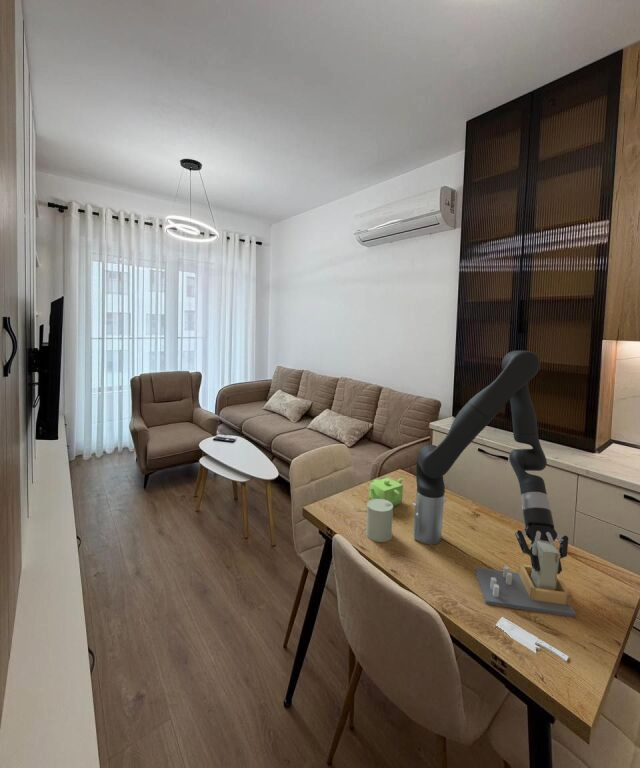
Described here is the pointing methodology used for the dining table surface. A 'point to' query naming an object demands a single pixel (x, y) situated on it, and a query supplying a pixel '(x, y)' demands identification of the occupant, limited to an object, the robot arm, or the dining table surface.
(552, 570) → the skincare box
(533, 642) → the white plastic strip tool
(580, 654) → the dining table surface
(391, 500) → the teapot
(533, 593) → the board
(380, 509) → the can
